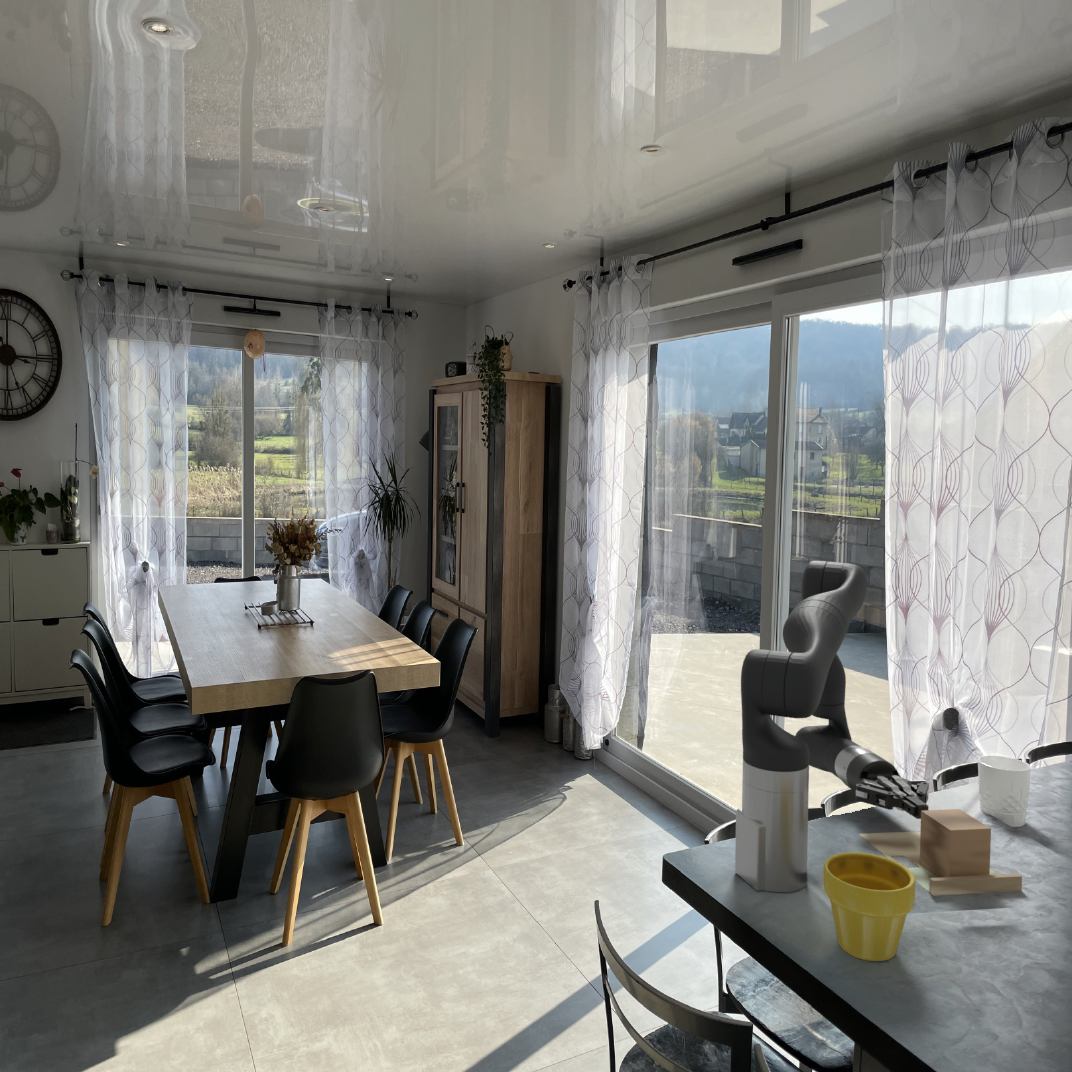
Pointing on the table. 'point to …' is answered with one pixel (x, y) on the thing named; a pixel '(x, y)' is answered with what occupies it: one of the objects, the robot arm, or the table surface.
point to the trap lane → (910, 848)
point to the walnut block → (954, 844)
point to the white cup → (1004, 788)
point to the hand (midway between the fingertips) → (923, 812)
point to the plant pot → (868, 902)
